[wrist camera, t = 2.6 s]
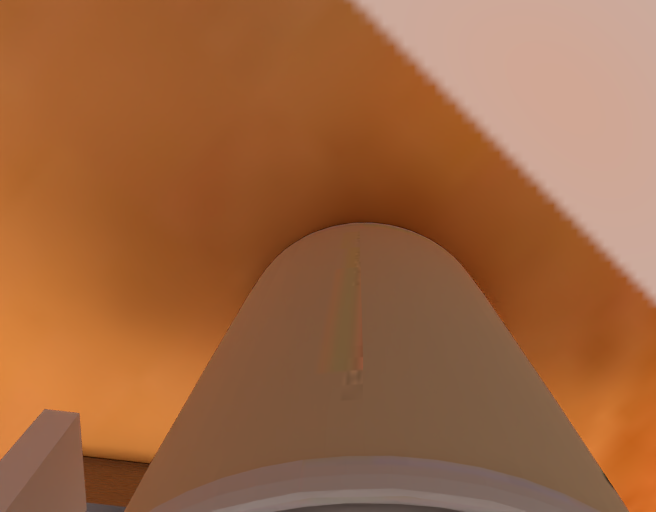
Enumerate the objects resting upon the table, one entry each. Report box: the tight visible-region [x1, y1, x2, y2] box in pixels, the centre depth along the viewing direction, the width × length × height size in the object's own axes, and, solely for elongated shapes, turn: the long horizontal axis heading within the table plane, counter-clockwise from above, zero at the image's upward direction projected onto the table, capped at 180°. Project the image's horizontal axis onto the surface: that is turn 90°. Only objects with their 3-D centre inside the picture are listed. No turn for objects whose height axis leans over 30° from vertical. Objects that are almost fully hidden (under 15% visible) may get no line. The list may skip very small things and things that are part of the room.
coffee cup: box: [124, 223, 629, 512], centre depth 12 cm, size 9×9×12 cm
